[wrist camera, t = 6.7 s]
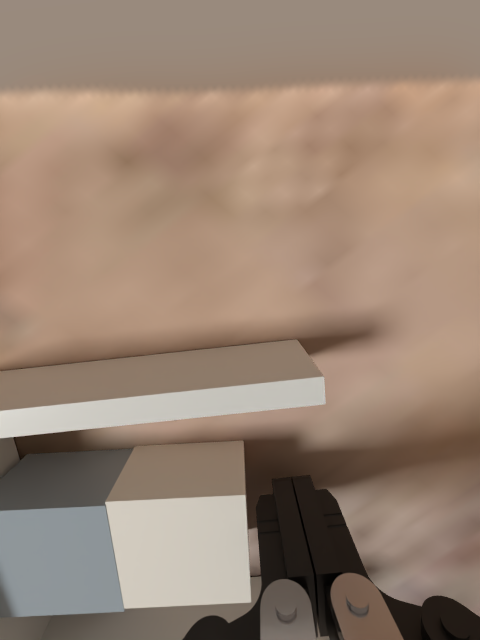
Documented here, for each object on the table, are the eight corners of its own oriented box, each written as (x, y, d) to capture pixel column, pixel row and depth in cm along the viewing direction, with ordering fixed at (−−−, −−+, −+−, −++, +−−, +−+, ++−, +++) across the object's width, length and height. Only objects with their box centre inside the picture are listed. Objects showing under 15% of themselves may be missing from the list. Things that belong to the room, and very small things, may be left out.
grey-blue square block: (136, 445, 12) (105, 505, 9) (149, 532, 13) (124, 611, 10) (30, 450, 12) (-35, 512, 9) (50, 537, 13) (-3, 618, 10)
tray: (296, 339, 11) (324, 376, 8) (313, 584, 14) (339, 695, 10) (-29, 374, 11) (-146, 426, 8) (50, 610, 14) (-12, 727, 10)
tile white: (243, 437, 12) (245, 494, 9) (248, 525, 13) (251, 602, 10) (137, 442, 12) (105, 501, 9) (149, 530, 13) (124, 608, 10)
